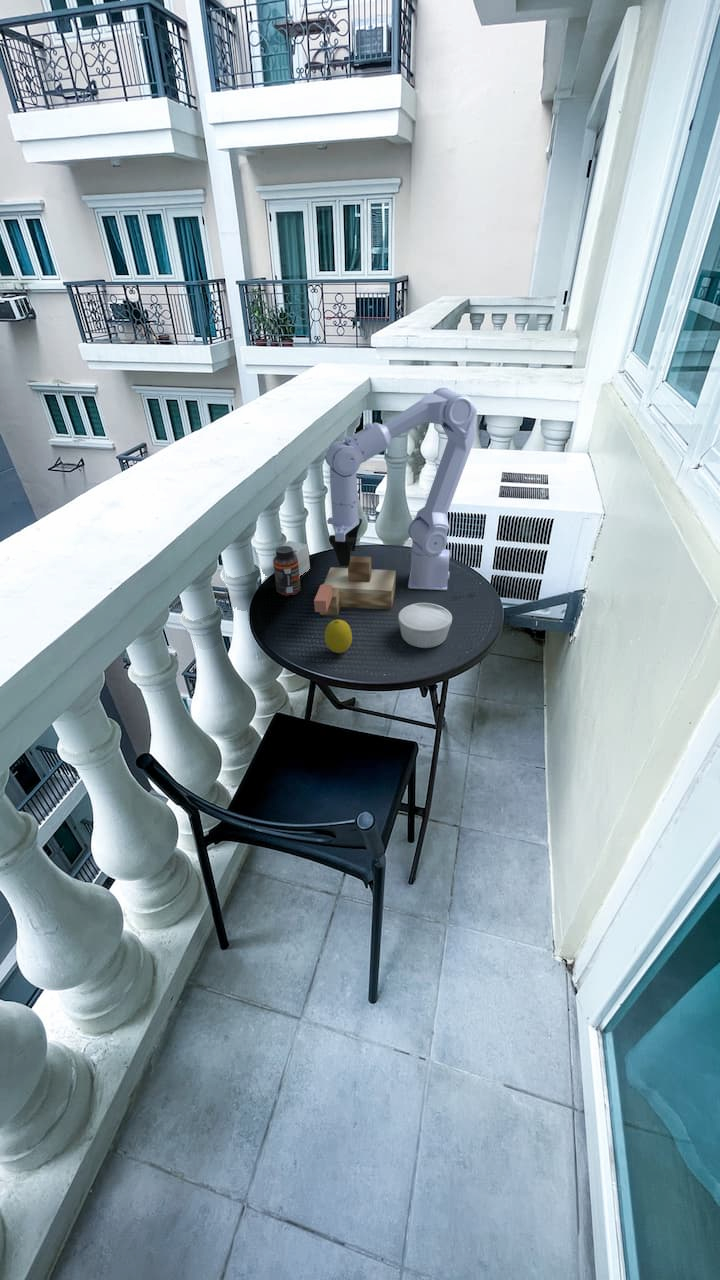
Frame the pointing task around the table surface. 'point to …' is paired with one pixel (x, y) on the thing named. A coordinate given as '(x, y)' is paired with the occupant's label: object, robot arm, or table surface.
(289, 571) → the supplement bottle
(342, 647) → the lemon
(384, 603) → the beige wooden shallow box
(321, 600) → the reddish-pink rectangular block
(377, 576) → the lid
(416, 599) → the table surface
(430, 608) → the ramekin
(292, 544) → the skincare box
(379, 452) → the robot arm
